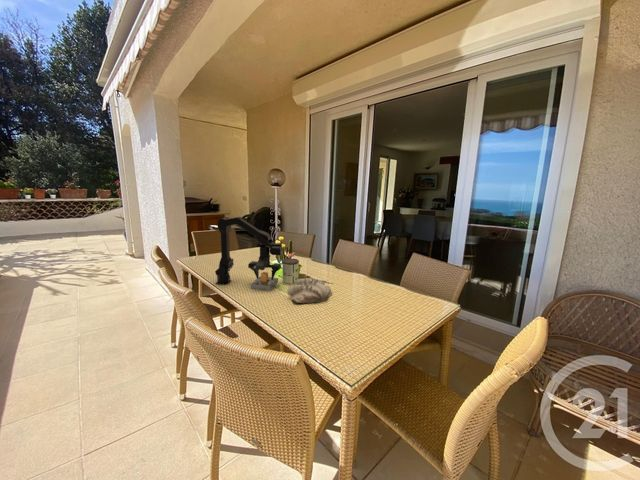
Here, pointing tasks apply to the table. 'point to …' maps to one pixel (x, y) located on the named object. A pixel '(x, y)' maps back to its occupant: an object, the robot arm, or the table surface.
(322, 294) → the seashell
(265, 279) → the tall orange box
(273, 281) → the rosette plate
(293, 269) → the coffee can
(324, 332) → the table surface
